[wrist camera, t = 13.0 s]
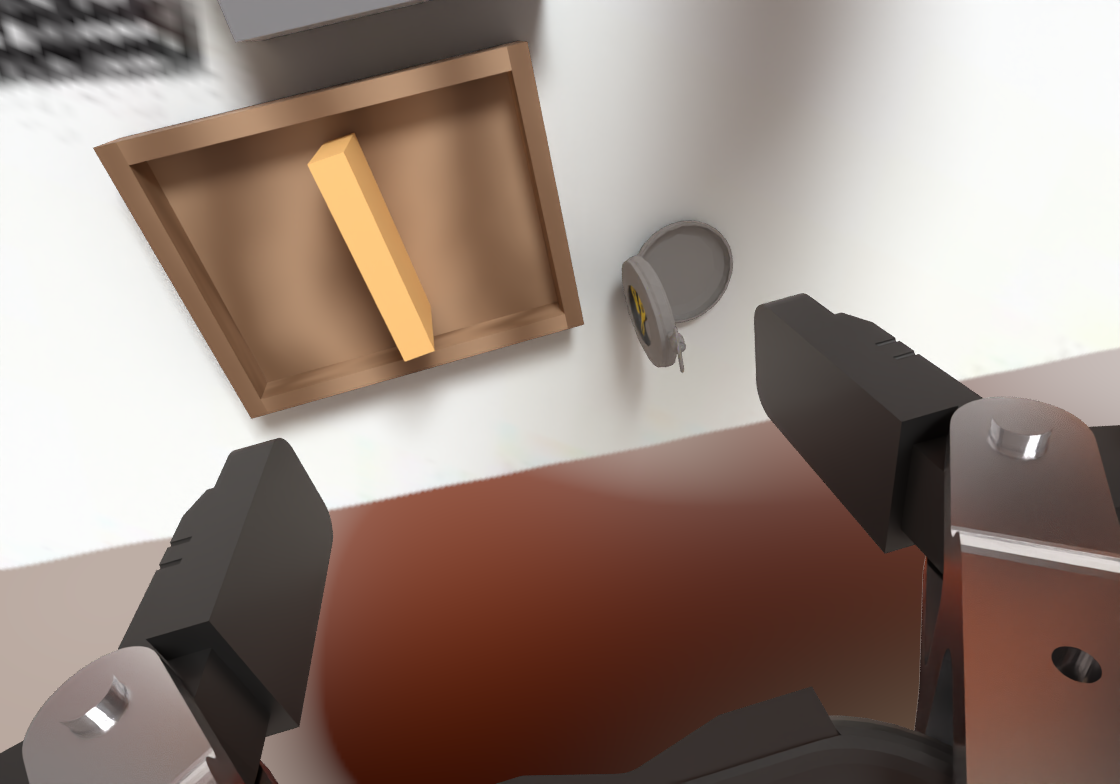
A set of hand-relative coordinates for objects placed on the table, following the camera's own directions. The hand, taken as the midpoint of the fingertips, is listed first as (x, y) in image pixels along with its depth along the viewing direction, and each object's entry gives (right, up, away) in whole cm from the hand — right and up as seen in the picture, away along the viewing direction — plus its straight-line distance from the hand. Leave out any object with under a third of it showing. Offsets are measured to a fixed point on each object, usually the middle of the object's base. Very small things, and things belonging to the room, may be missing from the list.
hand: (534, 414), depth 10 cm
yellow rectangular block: (-10, +12, +18) cm, 23 cm away
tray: (-10, +9, +24) cm, 27 cm away
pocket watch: (+7, +8, +29) cm, 31 cm away
